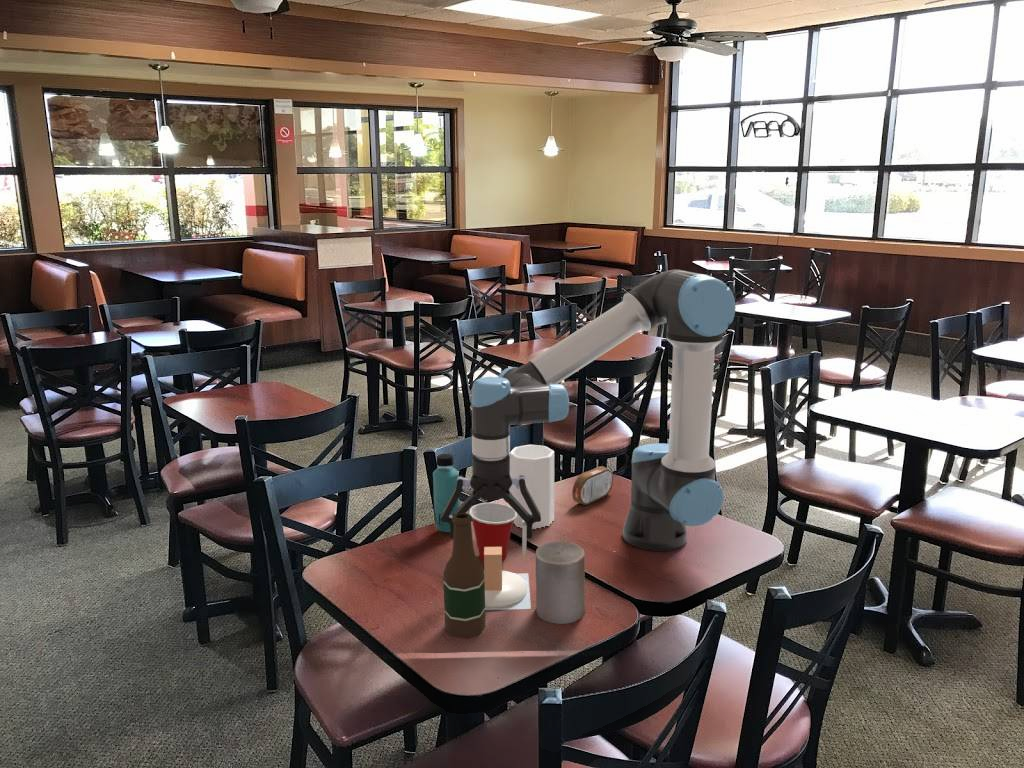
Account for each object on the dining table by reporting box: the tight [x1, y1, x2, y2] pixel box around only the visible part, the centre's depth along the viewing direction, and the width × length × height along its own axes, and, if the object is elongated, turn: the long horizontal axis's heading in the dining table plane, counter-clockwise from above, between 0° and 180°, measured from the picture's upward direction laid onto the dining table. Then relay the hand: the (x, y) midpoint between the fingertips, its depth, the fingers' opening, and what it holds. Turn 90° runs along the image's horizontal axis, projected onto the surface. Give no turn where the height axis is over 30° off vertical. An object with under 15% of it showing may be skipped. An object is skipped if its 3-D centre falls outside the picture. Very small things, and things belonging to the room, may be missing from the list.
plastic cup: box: [468, 502, 517, 562], centre depth 185 cm, size 11×11×12 cm
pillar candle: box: [535, 541, 586, 625], centre depth 161 cm, size 10×10×15 cm
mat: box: [485, 572, 532, 611], centre depth 171 cm, size 15×15×1 cm
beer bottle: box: [442, 512, 486, 640], centre depth 154 cm, size 8×8×24 cm
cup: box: [508, 444, 555, 530], centre depth 205 cm, size 11×11×18 cm
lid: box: [483, 547, 527, 608], centre depth 170 cm, size 14×14×9 cm
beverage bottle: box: [432, 453, 461, 533], centre depth 198 cm, size 6×7×20 cm
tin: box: [571, 465, 614, 506], centre depth 219 cm, size 15×3×8 cm, turn 136°
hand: (491, 552), depth 168 cm, fingers open, 13 cm apart
